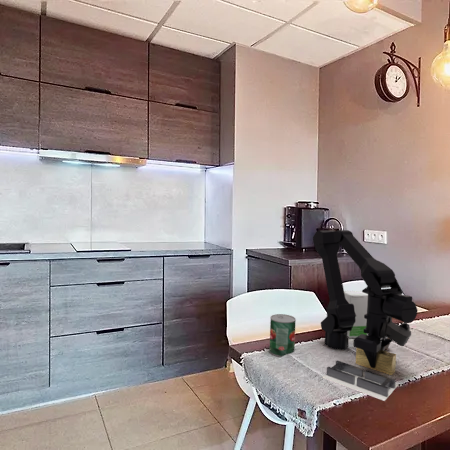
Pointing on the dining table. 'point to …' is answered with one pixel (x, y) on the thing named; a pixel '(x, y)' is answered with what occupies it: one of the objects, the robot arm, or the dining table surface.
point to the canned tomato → (282, 334)
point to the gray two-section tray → (363, 383)
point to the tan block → (378, 361)
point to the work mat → (360, 387)
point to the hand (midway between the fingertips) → (374, 365)
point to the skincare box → (357, 311)
